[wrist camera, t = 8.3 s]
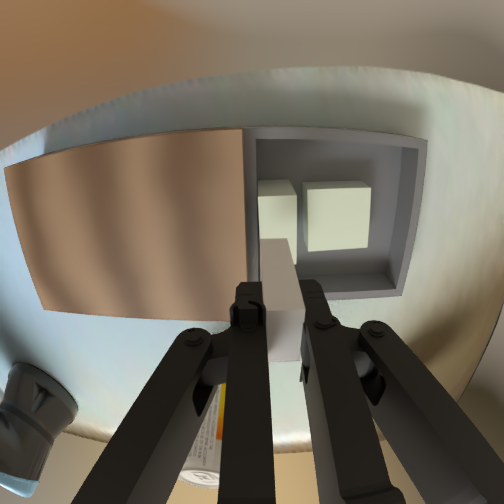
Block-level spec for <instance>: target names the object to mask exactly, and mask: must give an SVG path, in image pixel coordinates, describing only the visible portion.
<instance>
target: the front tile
mask: <svg viewBox="0 0 504 504" xmlns="http://www.w3.org/2000/svg"><path fill="white" fill-rule="evenodd" d="M257 181H258V211H259V232H260V239H273V238H287V240H288V244H289V247H290V251H291V255H292V259H293V263H294V264H296V259H297V195H296V193H295V191H294V189H293V187H292V185H291V183H290V181H289V179H279V180H257Z"/></svg>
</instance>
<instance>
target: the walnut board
mask: <svg viewBox="0 0 504 504" xmlns="http://www.w3.org/2000/svg"><path fill="white" fill-rule="evenodd" d="M4 174H5V180H6V185H7V191H8V196H9V201H10V205H11V210H12V214H13V218H14V222H15V226H16V230H17V234H18V237H19V241H20V244H21V248H22V251H23V254H24V257H25V260H26V264H27V267H28V269H29V272H30V275H31V278H32V281H33V283H34V286H35V289H36V291H37V294H38V296H39V299H40V301H41V304H42V306H43V309H44V310H50V311H58V312H67V313H77V314H88V315H99V316H112V317H126V318H142V319H162V320H191V321H230V312H229V309H230V307H231V305H232V304H233V303H234V302H235V293H236V287H237V286H238V285H239V283H240V282H248V256H247V225H246V193H245V160H244V127H222V128H205V129H192V130H181V131H171V132H162V133H154V134H146V135H139V136H132V137H125V138H119V139H113V140H107V141H102V142H96V143H91V144H86V145H81V146H77V147H72V148H68V149H63V150H59V151H55V152H51V153H47V154H43V155H40V156H37V157H34V158H31V159H28V160H25V161H22V162H19V163H16V164H13V165H11V166H8V167H5V168H4Z"/></svg>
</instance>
